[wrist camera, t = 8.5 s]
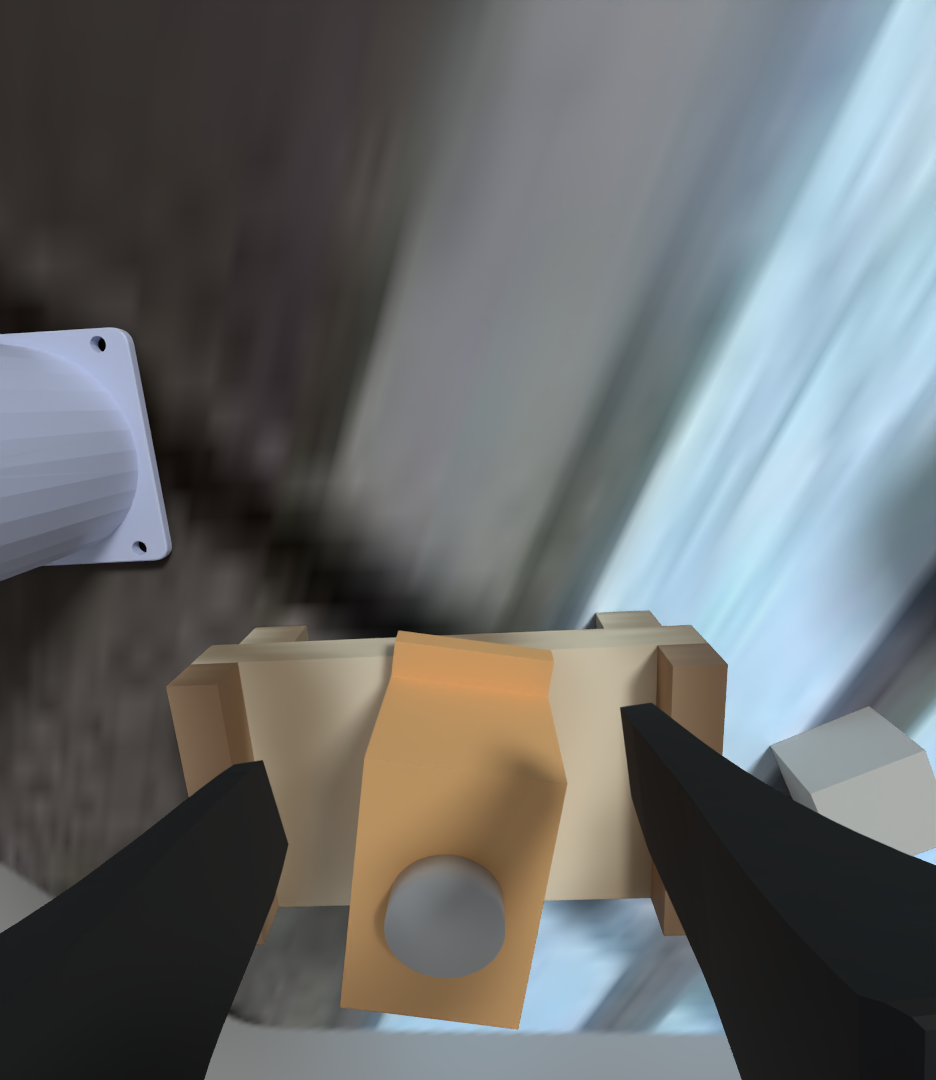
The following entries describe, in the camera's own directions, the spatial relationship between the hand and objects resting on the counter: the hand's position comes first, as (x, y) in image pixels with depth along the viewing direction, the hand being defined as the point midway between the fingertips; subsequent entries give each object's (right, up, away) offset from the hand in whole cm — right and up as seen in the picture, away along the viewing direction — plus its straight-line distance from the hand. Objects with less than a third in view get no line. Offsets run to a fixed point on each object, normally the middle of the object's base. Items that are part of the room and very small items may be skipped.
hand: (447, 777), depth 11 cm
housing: (0, -4, +8) cm, 9 cm away
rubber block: (+15, -4, +12) cm, 19 cm away
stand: (0, -3, +11) cm, 12 cm away
